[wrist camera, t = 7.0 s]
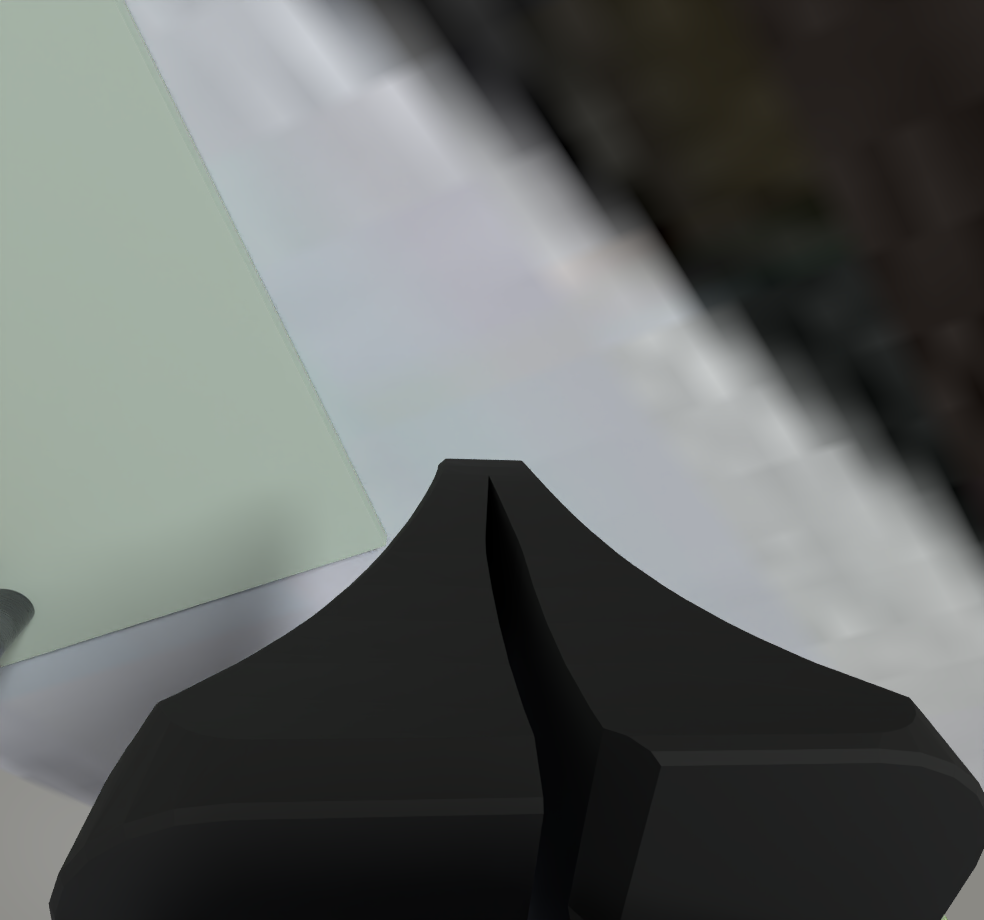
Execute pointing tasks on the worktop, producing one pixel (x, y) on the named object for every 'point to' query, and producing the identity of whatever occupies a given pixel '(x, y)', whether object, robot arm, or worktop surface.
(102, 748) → the worktop surface
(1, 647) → the dark gray metal cylinder
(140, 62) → the gate mat
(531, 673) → the robot arm
